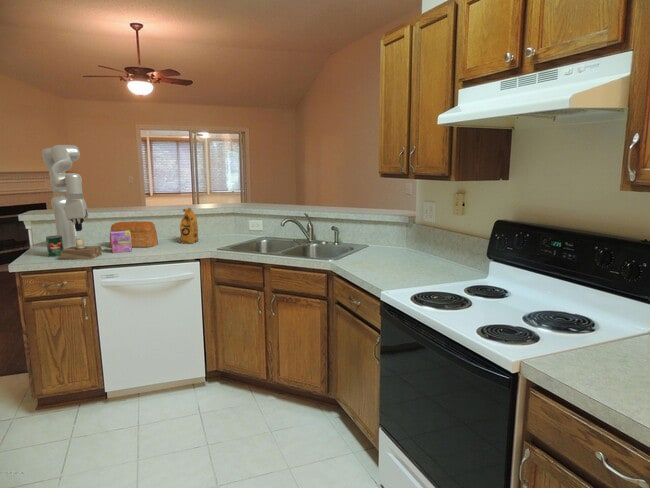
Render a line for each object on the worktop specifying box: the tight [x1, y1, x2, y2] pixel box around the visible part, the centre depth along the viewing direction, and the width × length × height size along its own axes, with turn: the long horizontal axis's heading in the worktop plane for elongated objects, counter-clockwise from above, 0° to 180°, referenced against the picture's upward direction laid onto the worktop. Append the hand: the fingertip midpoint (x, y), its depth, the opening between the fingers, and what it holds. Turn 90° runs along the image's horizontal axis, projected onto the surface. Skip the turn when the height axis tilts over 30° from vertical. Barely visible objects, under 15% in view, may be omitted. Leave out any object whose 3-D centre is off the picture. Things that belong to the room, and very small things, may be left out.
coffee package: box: [179, 206, 199, 245], centre depth 289 cm, size 10×12×22 cm
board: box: [60, 245, 103, 261], centre depth 249 cm, size 12×16×5 cm
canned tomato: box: [45, 234, 64, 258], centre depth 254 cm, size 8×8×11 cm
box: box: [109, 230, 133, 254], centre depth 263 cm, size 10×6×12 cm, turn 117°
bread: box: [109, 220, 159, 248], centre depth 281 cm, size 14×27×15 cm, turn 90°
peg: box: [75, 238, 86, 249], centre depth 249 cm, size 4×4×10 cm
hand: (79, 230), depth 247 cm, fingers closed
